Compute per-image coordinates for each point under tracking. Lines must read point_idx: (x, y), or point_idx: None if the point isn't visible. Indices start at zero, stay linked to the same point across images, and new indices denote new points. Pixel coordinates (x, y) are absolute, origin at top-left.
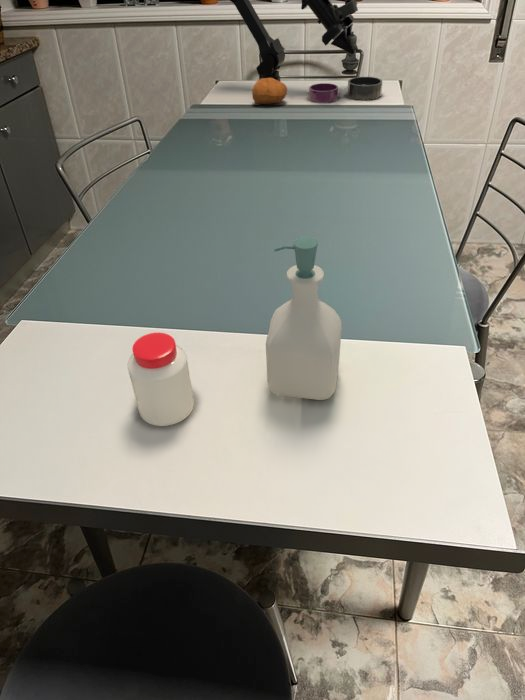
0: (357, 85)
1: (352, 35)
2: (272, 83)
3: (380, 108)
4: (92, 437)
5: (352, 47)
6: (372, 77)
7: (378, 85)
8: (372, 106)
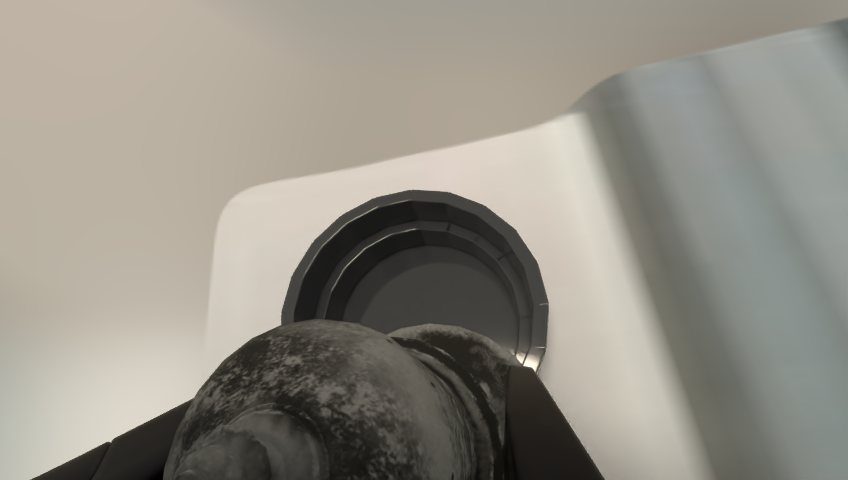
0: (543, 351)
1: (355, 463)
2: None
3: (674, 193)
4: None
5: (548, 414)
6: (305, 271)
7: (478, 206)
8: (649, 243)
